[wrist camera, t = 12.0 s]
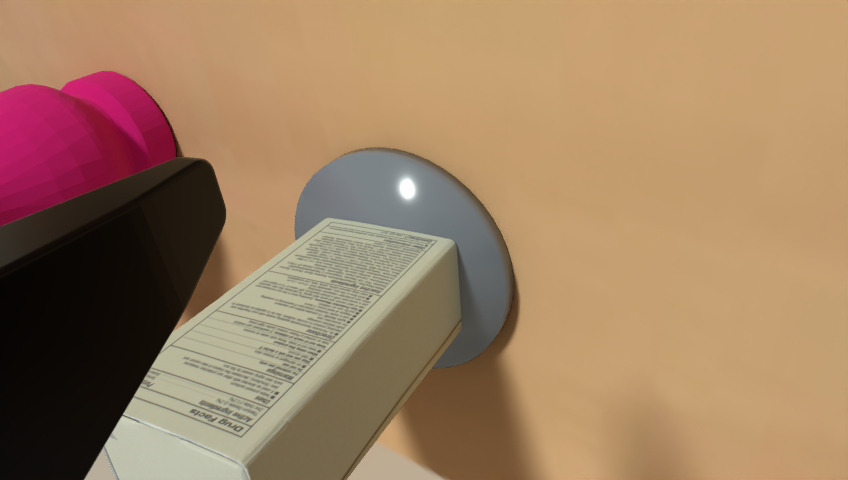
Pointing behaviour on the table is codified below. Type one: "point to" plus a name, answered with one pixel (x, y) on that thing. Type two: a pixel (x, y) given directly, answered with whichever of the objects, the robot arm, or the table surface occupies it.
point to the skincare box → (296, 361)
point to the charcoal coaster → (421, 229)
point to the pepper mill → (75, 140)
